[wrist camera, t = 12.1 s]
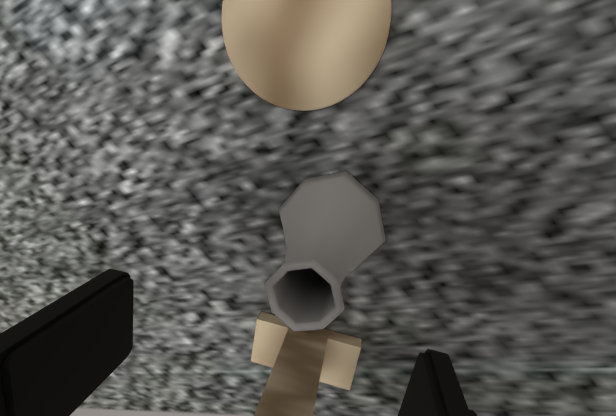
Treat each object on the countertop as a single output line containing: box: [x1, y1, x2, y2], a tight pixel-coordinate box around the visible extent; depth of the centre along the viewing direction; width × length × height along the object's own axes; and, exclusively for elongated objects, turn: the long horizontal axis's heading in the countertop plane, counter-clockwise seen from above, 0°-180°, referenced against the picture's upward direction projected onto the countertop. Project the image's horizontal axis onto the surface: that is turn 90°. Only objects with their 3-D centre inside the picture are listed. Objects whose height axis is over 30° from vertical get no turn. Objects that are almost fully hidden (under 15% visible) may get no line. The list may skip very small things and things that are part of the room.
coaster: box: [222, 0, 391, 111], centre depth 19 cm, size 10×10×1 cm
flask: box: [265, 171, 386, 331], centre depth 18 cm, size 7×7×10 cm
